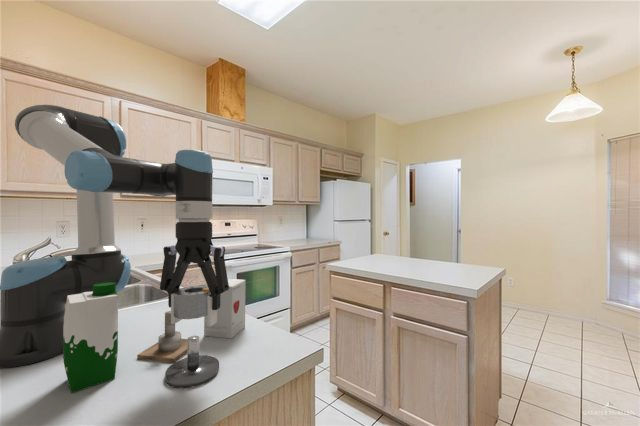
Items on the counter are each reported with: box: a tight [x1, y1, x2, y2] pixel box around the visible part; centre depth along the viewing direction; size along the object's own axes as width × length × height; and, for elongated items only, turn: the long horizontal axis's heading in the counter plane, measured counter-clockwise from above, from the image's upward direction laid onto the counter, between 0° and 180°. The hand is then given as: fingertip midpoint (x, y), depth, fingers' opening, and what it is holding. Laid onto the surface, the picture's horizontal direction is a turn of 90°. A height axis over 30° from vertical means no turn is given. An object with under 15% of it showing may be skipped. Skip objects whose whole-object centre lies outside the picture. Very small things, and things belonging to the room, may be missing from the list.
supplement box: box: [203, 278, 247, 339], centre depth 86 cm, size 9×9×15 cm
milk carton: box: [62, 282, 119, 394], centre depth 61 cm, size 9×9×20 cm
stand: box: [136, 310, 188, 364], centre depth 73 cm, size 10×10×10 cm
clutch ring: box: [174, 285, 211, 320], centre depth 63 cm, size 8×8×5 cm
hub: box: [164, 335, 220, 389], centre depth 64 cm, size 11×11×8 cm
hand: (194, 322), depth 63 cm, fingers closed on clutch ring, 8 cm apart
